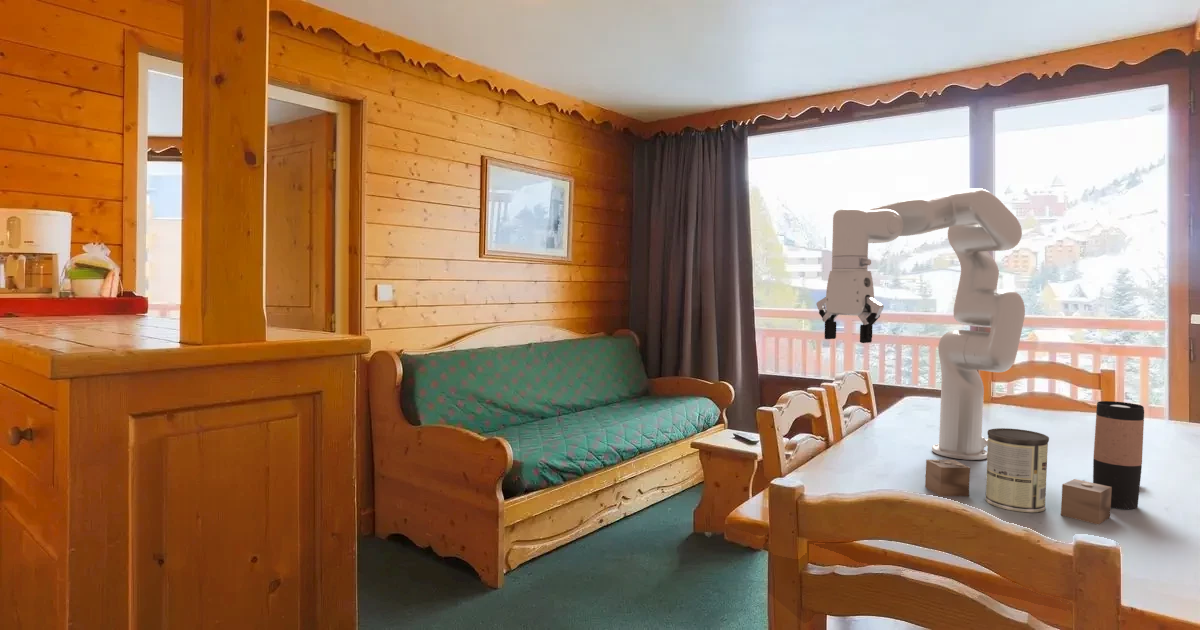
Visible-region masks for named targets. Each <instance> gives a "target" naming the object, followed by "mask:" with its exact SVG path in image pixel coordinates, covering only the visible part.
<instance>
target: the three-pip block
mask: <svg viewBox="0 0 1200 630" xmlns="http://www.w3.org/2000/svg"><path fill="white" fill-rule="evenodd" d="M970 475H971V467H970V466H967V464H964V463H962V462H959V461H957V459H926V460H925V477H924V479H925V481H924V482H925V483H924V485H925V486H924V487H925V488H926V489H928V490H929V491H931V492H933V493H934V494H936V495H938V496H939V497H970V483H971V482H970V481H971V480H970V477H971V476H970Z"/></svg>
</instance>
